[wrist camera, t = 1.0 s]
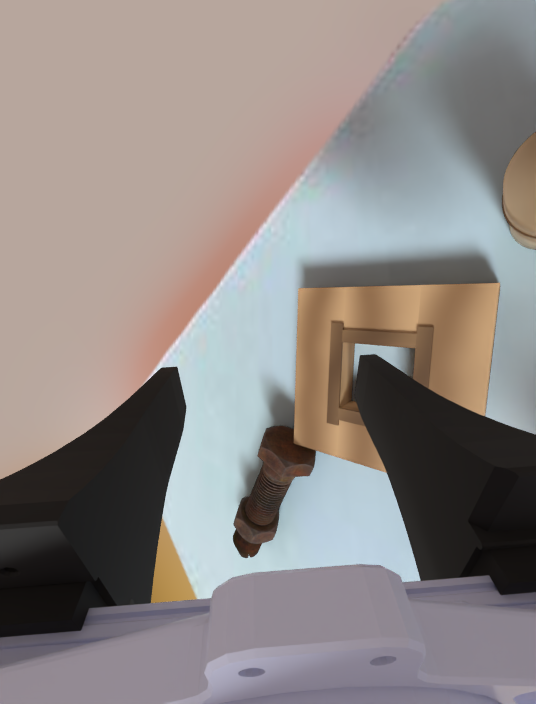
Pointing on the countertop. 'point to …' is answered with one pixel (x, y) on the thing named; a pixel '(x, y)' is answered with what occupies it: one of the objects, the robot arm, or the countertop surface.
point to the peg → (521, 194)
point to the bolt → (270, 488)
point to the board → (387, 330)
